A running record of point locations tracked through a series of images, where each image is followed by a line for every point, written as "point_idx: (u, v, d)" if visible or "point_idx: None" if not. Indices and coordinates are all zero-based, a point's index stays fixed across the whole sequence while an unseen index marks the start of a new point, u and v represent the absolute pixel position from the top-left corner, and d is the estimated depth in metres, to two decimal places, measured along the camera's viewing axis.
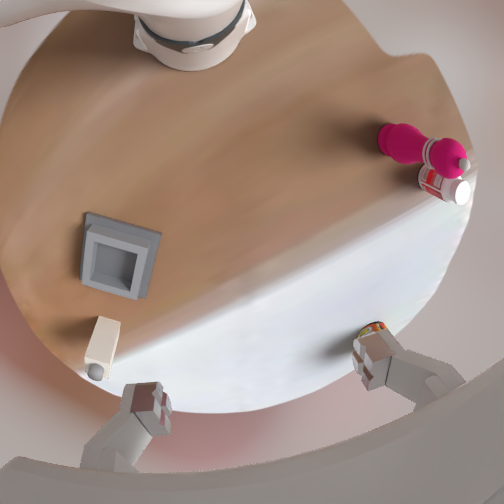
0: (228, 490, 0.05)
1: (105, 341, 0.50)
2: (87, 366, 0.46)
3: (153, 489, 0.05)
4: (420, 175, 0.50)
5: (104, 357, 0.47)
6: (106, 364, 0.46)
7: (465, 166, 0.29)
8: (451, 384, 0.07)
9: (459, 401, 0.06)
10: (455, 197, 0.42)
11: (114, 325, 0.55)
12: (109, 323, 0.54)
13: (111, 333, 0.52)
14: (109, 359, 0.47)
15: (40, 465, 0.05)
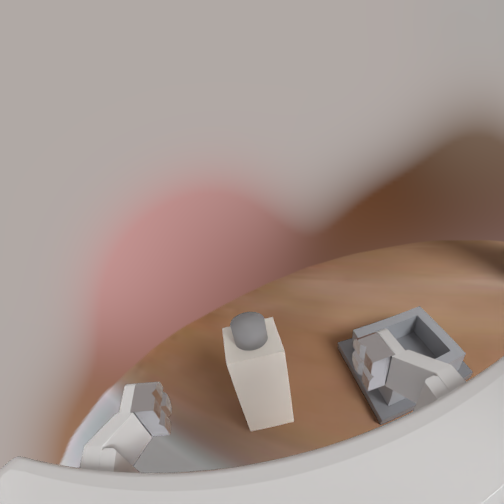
0: (228, 490, 0.05)
1: None
2: None
3: (153, 489, 0.05)
4: None
5: None
6: (278, 347, 0.24)
7: None
8: (451, 384, 0.07)
9: (459, 401, 0.06)
10: None
11: None
12: None
13: None
14: None
15: (40, 465, 0.05)
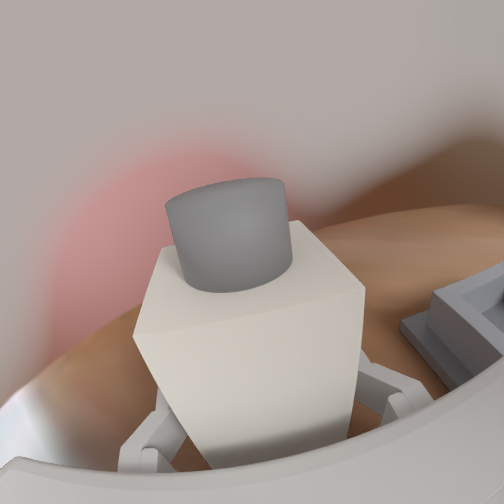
0: (228, 490, 0.05)
1: None
2: None
3: (153, 489, 0.05)
4: None
5: None
6: (337, 278, 0.06)
7: None
8: (417, 402, 0.07)
9: (459, 401, 0.06)
10: None
11: None
12: None
13: None
14: None
15: (40, 466, 0.05)
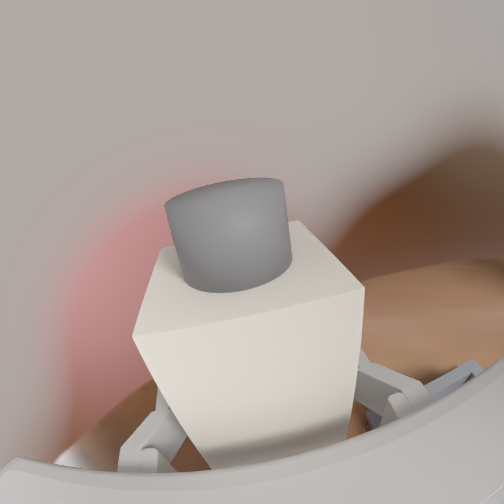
0: (228, 490, 0.05)
1: None
2: None
3: (154, 489, 0.05)
4: None
5: None
6: (336, 277, 0.06)
7: None
8: (417, 402, 0.07)
9: (459, 401, 0.06)
10: None
11: None
12: None
13: None
14: None
15: (40, 465, 0.05)
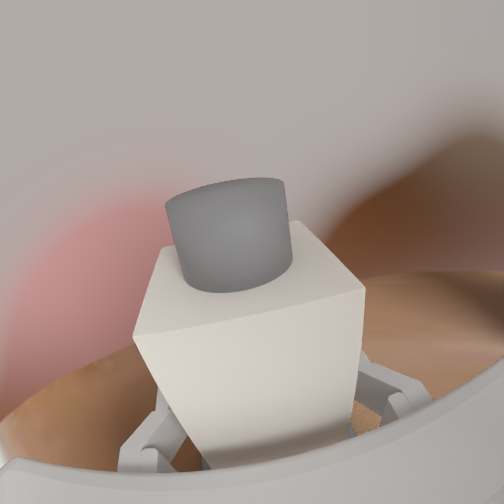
0: (228, 490, 0.05)
1: None
2: None
3: (153, 489, 0.05)
4: None
5: None
6: (337, 277, 0.06)
7: None
8: (417, 403, 0.07)
9: (459, 401, 0.06)
10: None
11: None
12: None
13: None
14: None
15: (40, 465, 0.05)
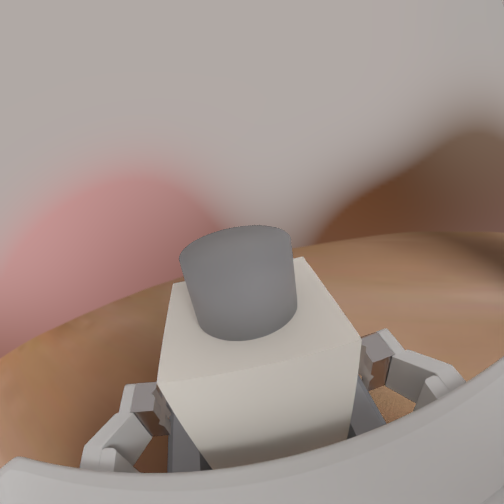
0: (228, 490, 0.05)
1: None
2: None
3: (153, 489, 0.05)
4: None
5: None
6: (337, 327, 0.07)
7: None
8: (451, 384, 0.07)
9: (459, 401, 0.06)
10: None
11: None
12: None
13: None
14: None
15: (40, 465, 0.05)
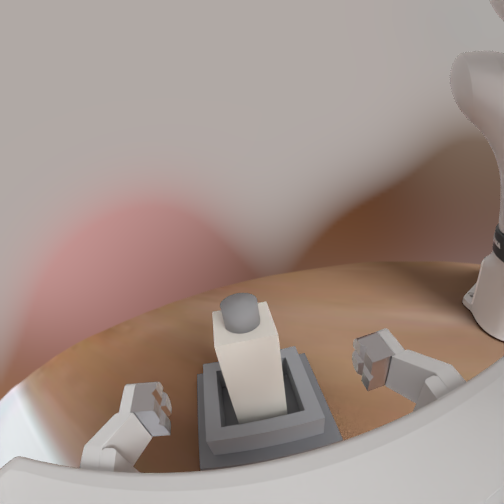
0: (228, 490, 0.05)
1: None
2: None
3: (153, 489, 0.05)
4: None
5: None
6: (271, 330, 0.23)
7: None
8: (451, 384, 0.07)
9: (459, 401, 0.06)
10: None
11: None
12: None
13: None
14: (278, 342, 0.23)
15: (40, 465, 0.05)
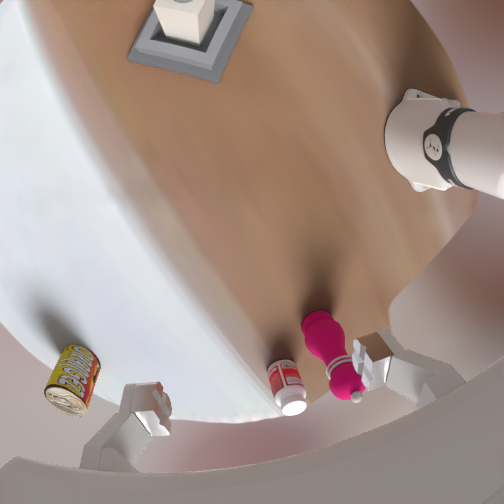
0: (228, 490, 0.05)
1: (205, 18, 0.25)
2: None
3: (153, 489, 0.05)
4: (284, 361, 0.55)
5: (202, 10, 0.22)
6: (196, 9, 0.21)
7: (357, 398, 0.36)
8: (451, 384, 0.07)
9: (459, 401, 0.06)
10: (290, 402, 0.46)
11: (202, 37, 0.30)
12: (205, 31, 0.30)
13: (202, 30, 0.28)
14: (198, 17, 0.22)
15: (40, 465, 0.05)
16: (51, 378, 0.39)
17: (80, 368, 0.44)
